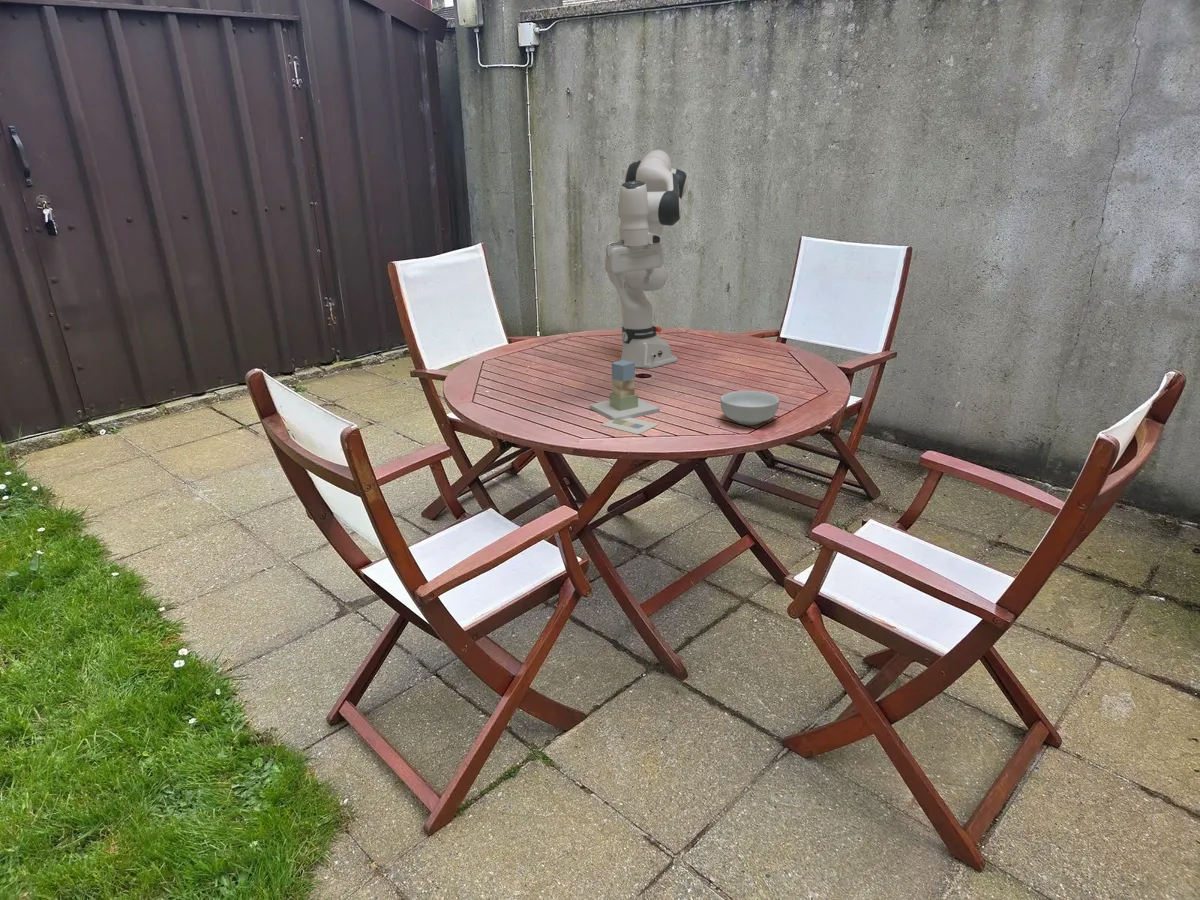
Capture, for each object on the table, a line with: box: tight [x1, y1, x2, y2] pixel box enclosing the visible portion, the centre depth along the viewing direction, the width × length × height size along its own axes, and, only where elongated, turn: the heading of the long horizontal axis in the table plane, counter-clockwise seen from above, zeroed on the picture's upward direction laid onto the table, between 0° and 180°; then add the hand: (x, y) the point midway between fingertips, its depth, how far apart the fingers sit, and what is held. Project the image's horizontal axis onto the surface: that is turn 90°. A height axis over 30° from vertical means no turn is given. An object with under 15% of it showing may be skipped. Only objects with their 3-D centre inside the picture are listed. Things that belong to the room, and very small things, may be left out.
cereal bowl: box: [720, 390, 780, 426], centre depth 219 cm, size 17×17×7 cm
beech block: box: [611, 378, 636, 397], centre depth 231 cm, size 5×5×5 cm
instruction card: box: [600, 417, 659, 435], centre depth 220 cm, size 10×14×1 cm
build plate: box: [588, 392, 660, 421], centre depth 233 cm, size 16×16×5 cm
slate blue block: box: [611, 359, 636, 382], centre depth 229 cm, size 5×5×5 cm
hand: (634, 285), depth 228 cm, fingers open, 8 cm apart
